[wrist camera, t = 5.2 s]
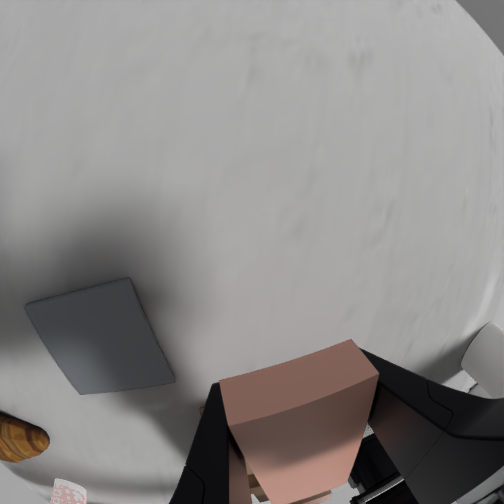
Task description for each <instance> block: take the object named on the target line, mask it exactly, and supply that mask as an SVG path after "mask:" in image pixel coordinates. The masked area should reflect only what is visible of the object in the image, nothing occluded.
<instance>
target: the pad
mask: <svg viewBox="0 0 504 504" xmlns="http://www.w3.org/2000/svg"><path fill="white" fill-rule="evenodd" d="M24 309H25V311H26V313H27V315H28V317H29V318H30V320H31V322H32V324H33V326H34V327H35V329H36V331H37V333H38V334H39V336H40V338H41V339H42V341H43V343H44V344H45V346H46V347H47V349H48V351H49V352H50V354H51V355H52V357H53V358H54V360H55V361H56V363H57V364H58V366H59V367H60V369H61V370H62V371H63V373H64V374H65V376H66V377H67V378H68V380H69V381H70V382H71V384H72V385H73V386H74V388H75V389H76V390H77V392H78V393H79V394H80V395H85V394H97V393H107V392H116V391H124V390H132V389H139V388H145V387H152V386H158V385H164V384H169V383H175V377H174V375H173V373H172V371H171V369H170V367H169V365H168V363H167V361H166V359H165V357H164V355H163V353H162V351H161V349H160V347H159V345H158V343H157V341H156V339H155V337H154V335H153V332H152V330H151V328H150V326H149V324H148V321H147V319H146V317H145V314H144V312H143V310H142V307H141V305H140V303H139V300H138V298H137V295H136V293H135V290H134V288H133V285H132V283H131V280H130V278H126V279H122V280H118V281H114V282H110V283H106V284H102V285H98V286H94V287H90V288H86V289H82V290H79V291H75V292H71V293H67V294H63V295H59V296H55V297H51V298H47V299H44V300H40V301H36V302H32V303H28V304H26V305H25V307H24Z"/></svg>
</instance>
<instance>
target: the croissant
mask: <svg viewBox="0 0 504 504" xmlns="http://www.w3.org/2000/svg"><path fill="white" fill-rule="evenodd" d="M49 444H50V437H49V436H48V434H47V433H46V432H45V431H43V430H42V429H40V428H37V427H35V426H33V425H31V424H29V423H26V422H24V421H21V420H18V419H16V418H12V417H8V416H5V415H3V414H0V460H3V461H7V462H16V463H18V462H20V461H21V460H23V459H29V458H32V457H34V456H37V455H39V454H41V453H42V452H43V451H44V450H46V449H47V447H48V446H49Z"/></svg>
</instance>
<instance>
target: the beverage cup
mask: <svg viewBox="0 0 504 504" xmlns="http://www.w3.org/2000/svg"><path fill="white" fill-rule="evenodd" d="M50 504H86V490H85V489H84V488H83V487H81V486H79V485H77V484H75V483H72V482H70V481H67V480H63V479H55V482H54V487H53V491H52V496H51V502H50Z"/></svg>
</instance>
